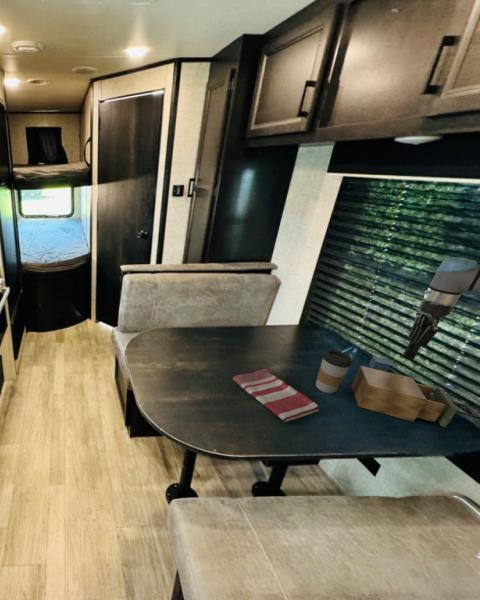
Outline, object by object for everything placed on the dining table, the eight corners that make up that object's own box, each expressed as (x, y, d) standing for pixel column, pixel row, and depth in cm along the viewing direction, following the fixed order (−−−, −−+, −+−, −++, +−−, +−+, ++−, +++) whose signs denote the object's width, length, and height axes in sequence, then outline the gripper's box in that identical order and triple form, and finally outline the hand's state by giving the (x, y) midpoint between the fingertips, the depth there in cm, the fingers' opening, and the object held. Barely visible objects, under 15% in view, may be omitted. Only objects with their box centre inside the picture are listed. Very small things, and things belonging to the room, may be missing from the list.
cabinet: (401, 398, 114) (412, 377, 110) (413, 421, 104) (426, 399, 100) (351, 386, 121) (360, 365, 117) (358, 406, 111) (368, 385, 107)
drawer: (457, 411, 107) (469, 394, 104) (475, 435, 98) (488, 416, 95) (381, 392, 116) (390, 375, 113) (391, 412, 107) (400, 394, 104)
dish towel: (263, 371, 129) (265, 366, 128) (319, 411, 109) (322, 405, 108) (231, 380, 124) (232, 375, 123) (283, 424, 104) (285, 418, 103)
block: (382, 368, 131) (387, 359, 129) (386, 374, 128) (390, 364, 126) (368, 364, 133) (372, 355, 131) (371, 370, 130) (375, 361, 128)
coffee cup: (314, 378, 125) (327, 346, 119) (340, 388, 120) (355, 355, 113) (309, 388, 120) (322, 355, 114) (336, 399, 114) (351, 365, 108)
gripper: (416, 293, 115) (389, 347, 125) (431, 306, 104) (400, 364, 114) (444, 297, 112) (414, 352, 122) (462, 311, 101) (428, 370, 111)
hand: (407, 358), depth 118 cm, fingers closed
